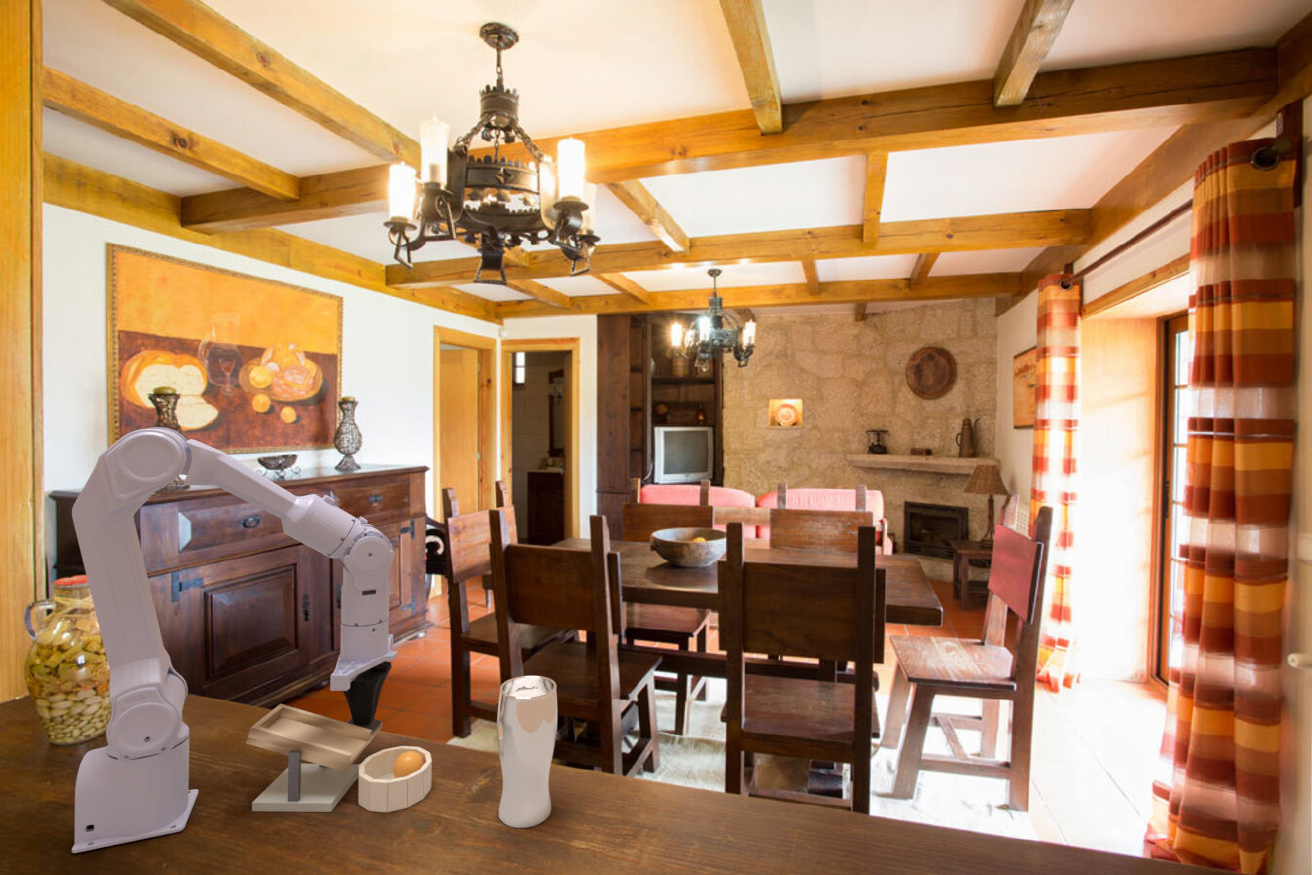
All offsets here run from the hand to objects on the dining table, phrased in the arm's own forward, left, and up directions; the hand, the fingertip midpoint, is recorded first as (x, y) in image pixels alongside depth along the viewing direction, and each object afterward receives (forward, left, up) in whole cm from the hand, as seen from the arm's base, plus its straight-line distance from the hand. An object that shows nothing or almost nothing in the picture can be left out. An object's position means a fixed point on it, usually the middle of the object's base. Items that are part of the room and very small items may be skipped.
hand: (363, 722), depth 83 cm
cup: (+3, -7, -6) cm, 10 cm away
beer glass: (+17, -18, -6) cm, 25 cm away
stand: (-6, -3, -6) cm, 9 cm away
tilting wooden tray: (-5, -1, 0) cm, 5 cm away
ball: (+5, -7, -4) cm, 9 cm away
